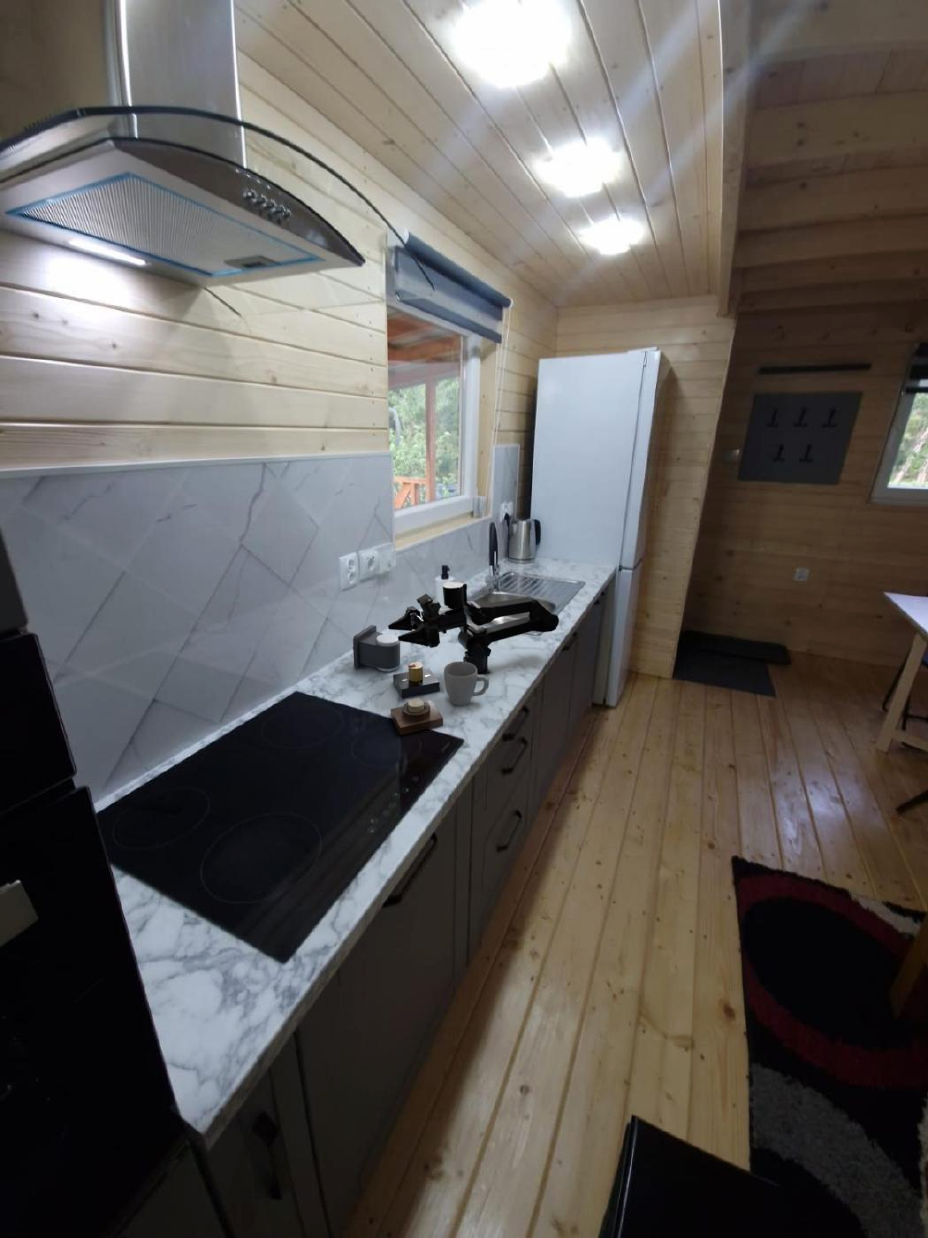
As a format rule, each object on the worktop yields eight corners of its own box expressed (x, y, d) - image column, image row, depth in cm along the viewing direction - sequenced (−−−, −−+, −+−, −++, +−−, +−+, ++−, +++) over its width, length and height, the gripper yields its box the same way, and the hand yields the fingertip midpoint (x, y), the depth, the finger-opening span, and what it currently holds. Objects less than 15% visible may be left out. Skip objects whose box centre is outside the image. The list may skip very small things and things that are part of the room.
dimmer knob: (420, 673, 142) (420, 660, 140) (424, 680, 139) (424, 666, 137) (407, 676, 141) (406, 662, 139) (411, 682, 137) (410, 668, 136)
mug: (441, 707, 131) (441, 675, 127) (447, 690, 139) (446, 660, 136) (486, 711, 130) (487, 678, 126) (489, 694, 138) (490, 663, 134)
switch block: (431, 707, 131) (431, 694, 130) (443, 725, 124) (443, 711, 122) (390, 716, 127) (390, 702, 126) (400, 735, 120) (399, 721, 118)
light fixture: (388, 679, 146) (388, 646, 142) (351, 668, 151) (350, 636, 147) (407, 663, 156) (407, 632, 151) (371, 653, 160) (370, 623, 156)
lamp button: (421, 703, 126) (421, 697, 126) (426, 711, 123) (426, 705, 122) (406, 706, 125) (406, 700, 124) (410, 714, 122) (410, 708, 121)
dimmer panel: (429, 676, 147) (429, 667, 145) (439, 691, 139) (439, 681, 138) (393, 683, 143) (392, 674, 141) (401, 699, 135) (401, 688, 134)
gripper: (431, 585, 145) (379, 595, 139) (456, 602, 129) (399, 615, 123) (434, 620, 149) (385, 631, 143) (460, 641, 133) (405, 655, 127)
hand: (393, 632), depth 134 cm, fingers open, 9 cm apart
